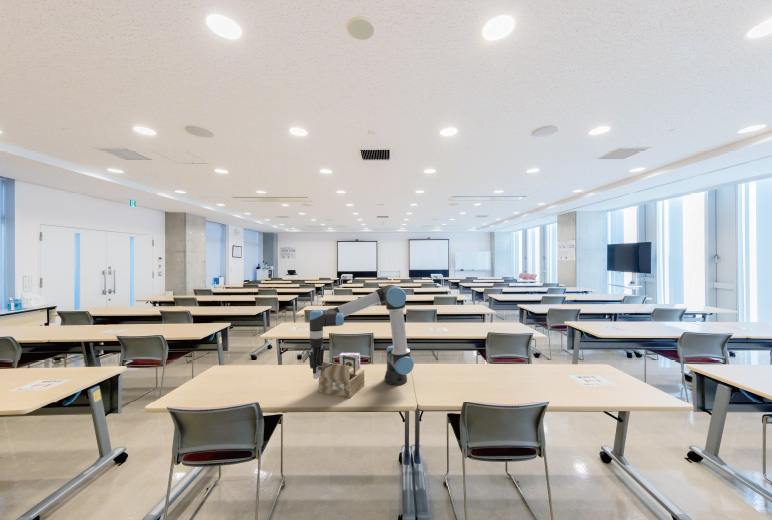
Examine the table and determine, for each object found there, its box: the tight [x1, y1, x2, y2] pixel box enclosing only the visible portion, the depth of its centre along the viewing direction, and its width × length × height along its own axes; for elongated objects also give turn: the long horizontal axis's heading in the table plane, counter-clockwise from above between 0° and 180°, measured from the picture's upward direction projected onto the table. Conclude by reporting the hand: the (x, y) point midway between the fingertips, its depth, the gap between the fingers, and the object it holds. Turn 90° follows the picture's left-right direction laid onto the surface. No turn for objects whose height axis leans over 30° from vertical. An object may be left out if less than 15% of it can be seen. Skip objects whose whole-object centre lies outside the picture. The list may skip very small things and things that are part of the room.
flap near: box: [309, 361, 350, 381], centre depth 185 cm, size 22×9×11 cm
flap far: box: [342, 356, 365, 376], centre depth 202 cm, size 22×9×11 cm, turn 66°
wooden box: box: [318, 370, 365, 399], centre depth 198 cm, size 22×18×10 cm
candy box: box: [338, 352, 361, 369], centre depth 217 cm, size 14×6×16 cm, turn 84°
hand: (316, 377), depth 183 cm, fingers closed on flap near, 2 cm apart
